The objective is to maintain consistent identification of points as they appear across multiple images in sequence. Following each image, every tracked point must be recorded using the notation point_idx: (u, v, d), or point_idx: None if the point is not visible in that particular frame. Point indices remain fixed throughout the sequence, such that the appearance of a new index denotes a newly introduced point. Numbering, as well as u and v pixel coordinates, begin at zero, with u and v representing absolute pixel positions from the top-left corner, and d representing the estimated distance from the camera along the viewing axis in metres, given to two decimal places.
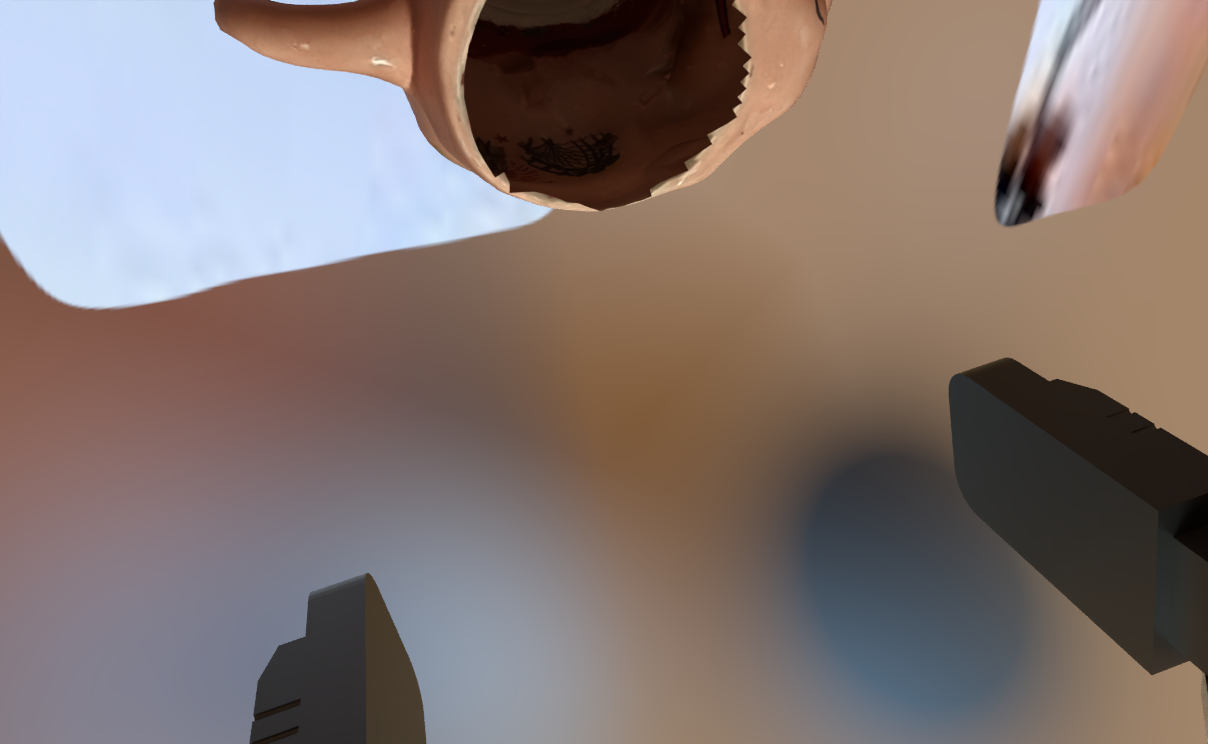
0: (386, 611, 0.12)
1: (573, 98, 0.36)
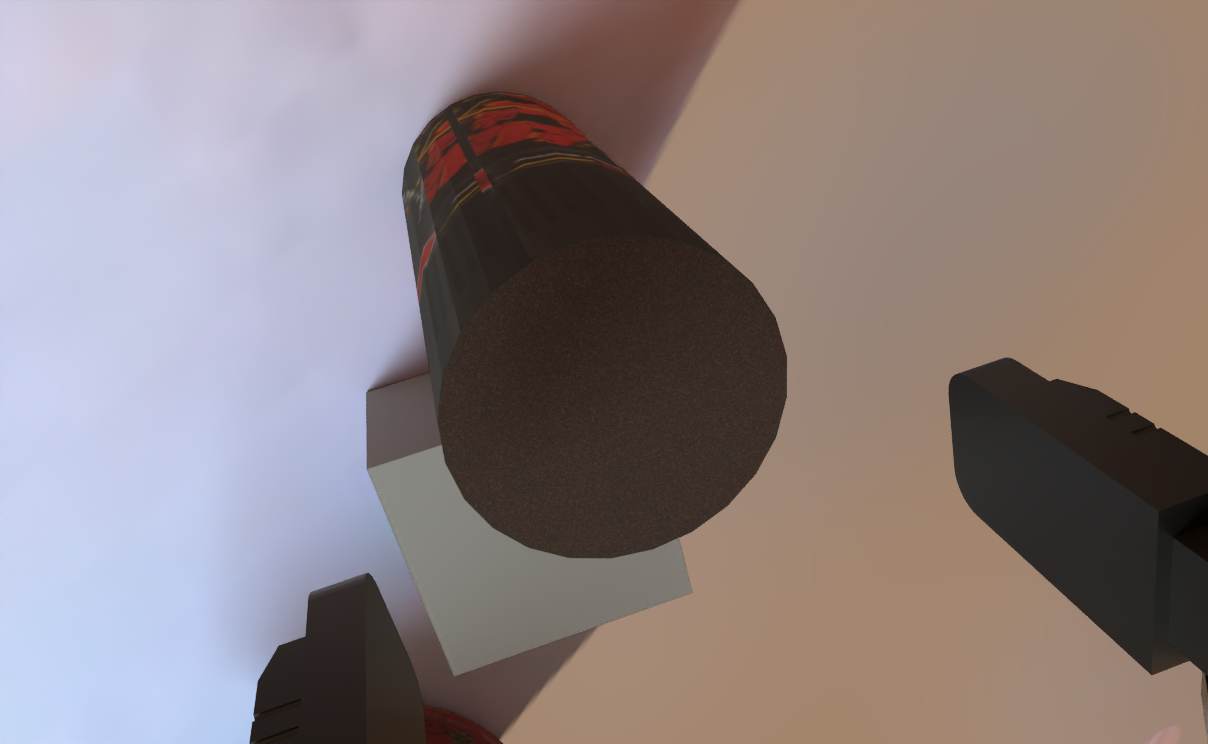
0: (386, 611, 0.12)
1: None
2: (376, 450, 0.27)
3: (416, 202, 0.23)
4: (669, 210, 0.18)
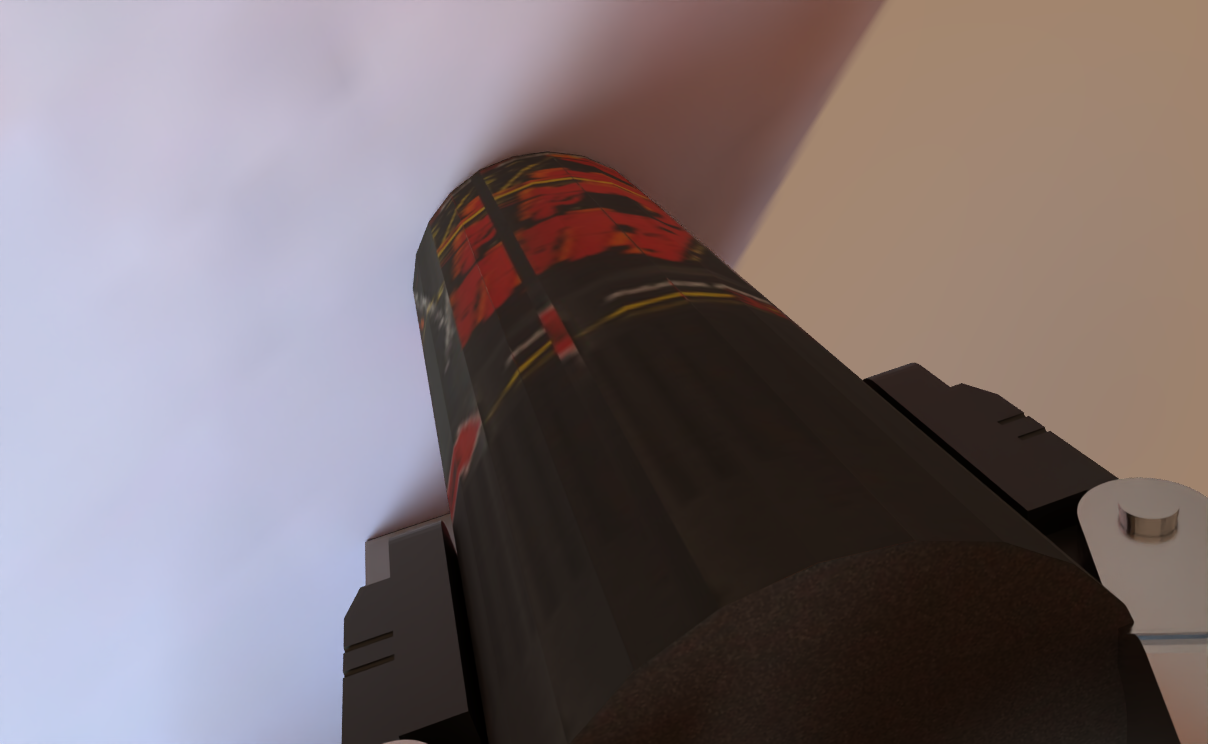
0: (457, 558, 0.12)
1: None
2: None
3: (439, 328, 0.16)
4: (874, 391, 0.11)
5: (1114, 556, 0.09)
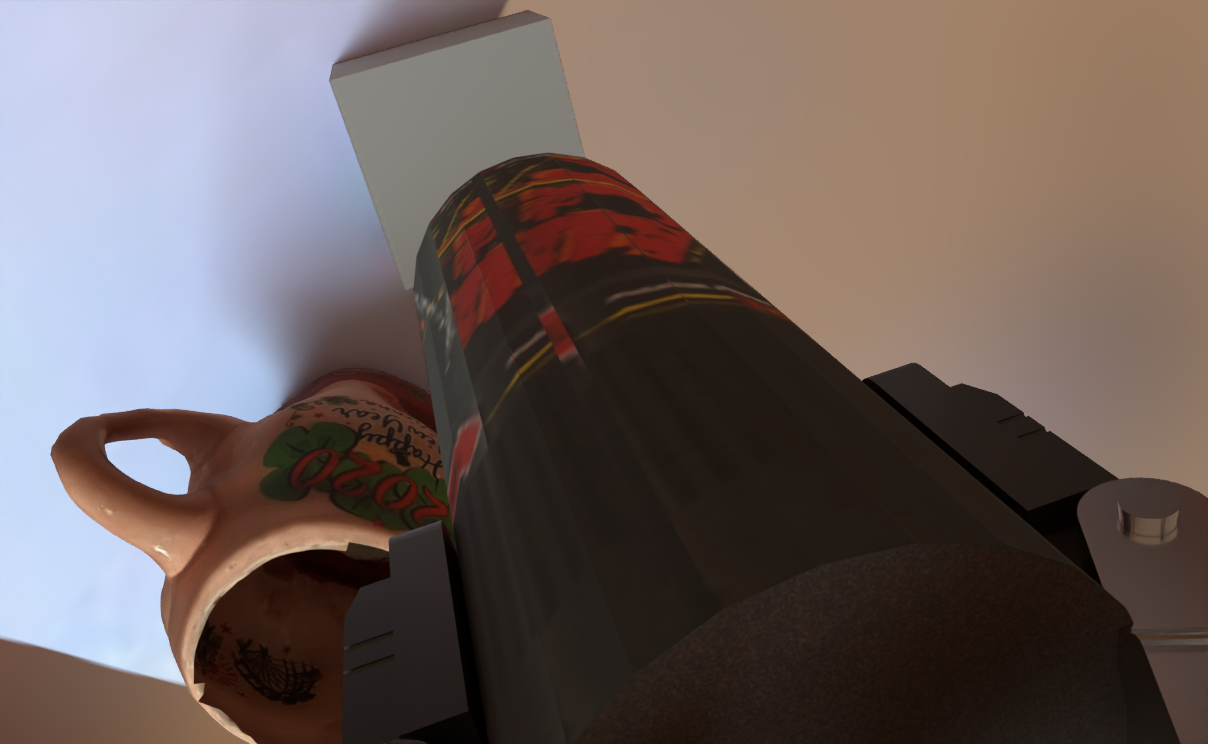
0: None
1: (306, 622, 0.40)
2: (337, 75, 0.33)
3: (439, 329, 0.16)
4: (874, 393, 0.11)
5: (1113, 556, 0.09)
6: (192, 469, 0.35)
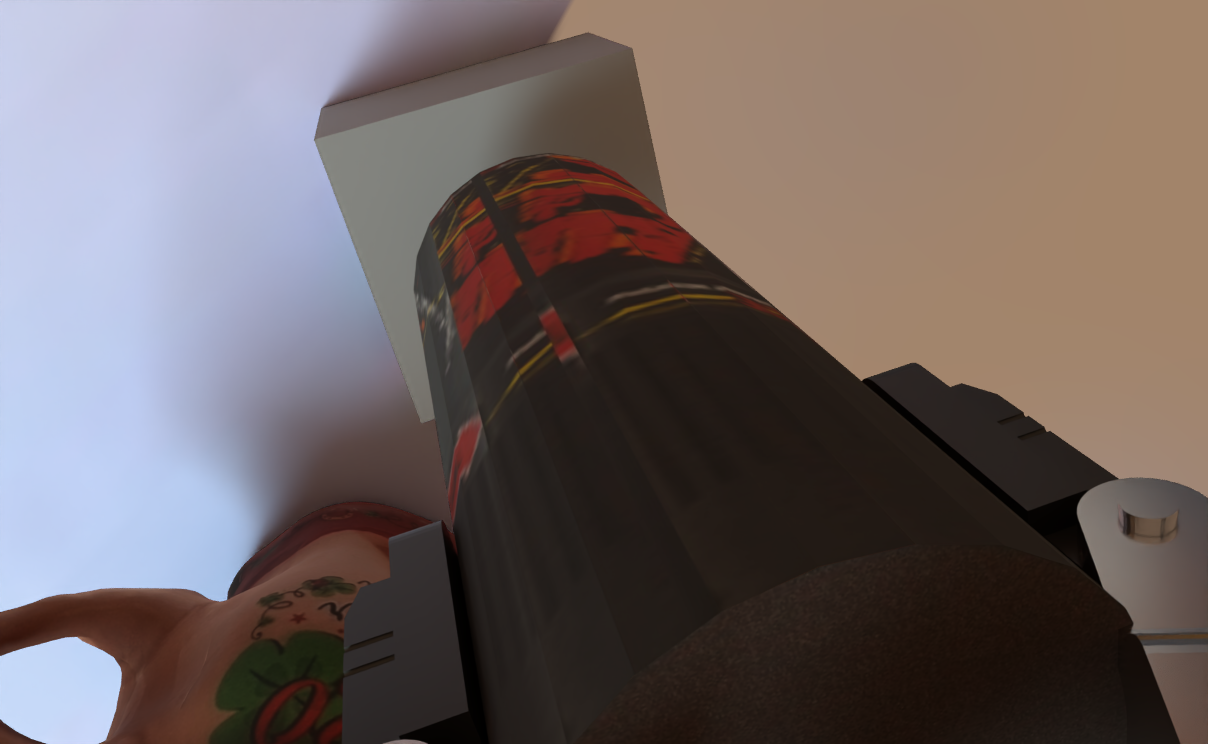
0: (457, 558, 0.12)
1: None
2: (326, 130, 0.23)
3: (440, 329, 0.16)
4: (874, 393, 0.11)
5: (1114, 556, 0.09)
6: (123, 676, 0.25)
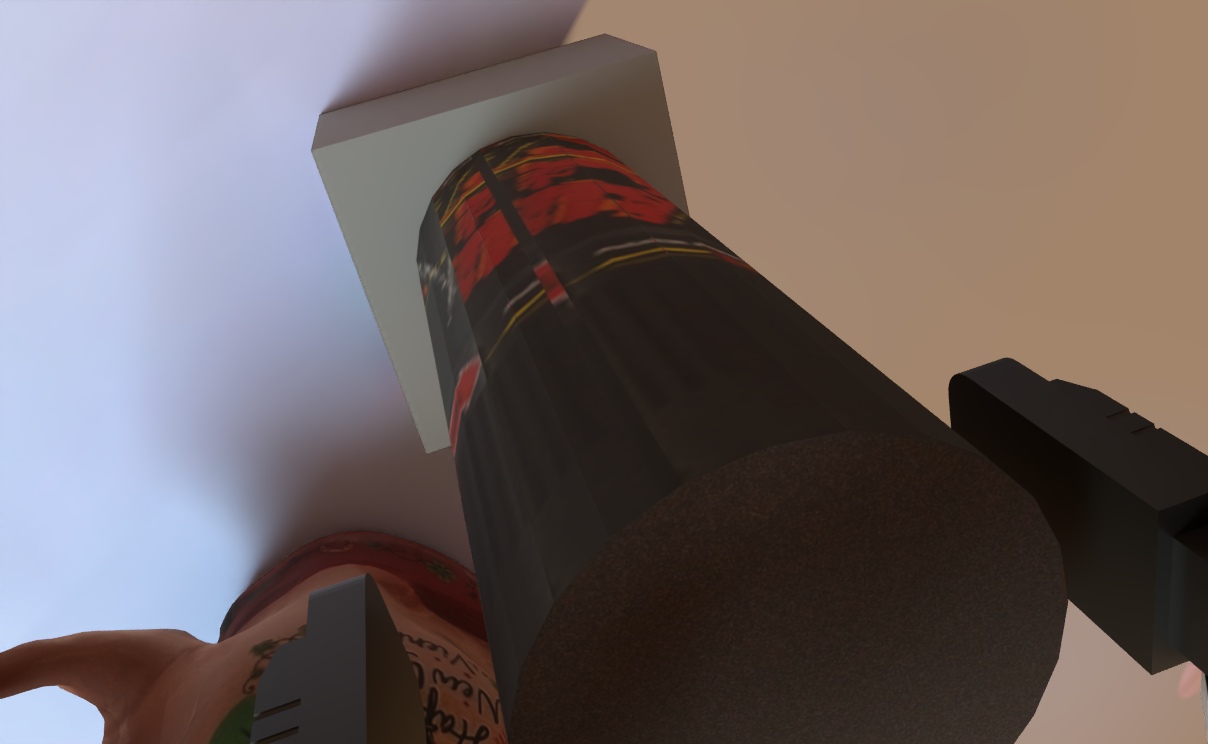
0: (386, 611, 0.12)
1: None
2: (325, 139, 0.21)
3: (442, 289, 0.17)
4: None
5: None
6: (106, 727, 0.23)
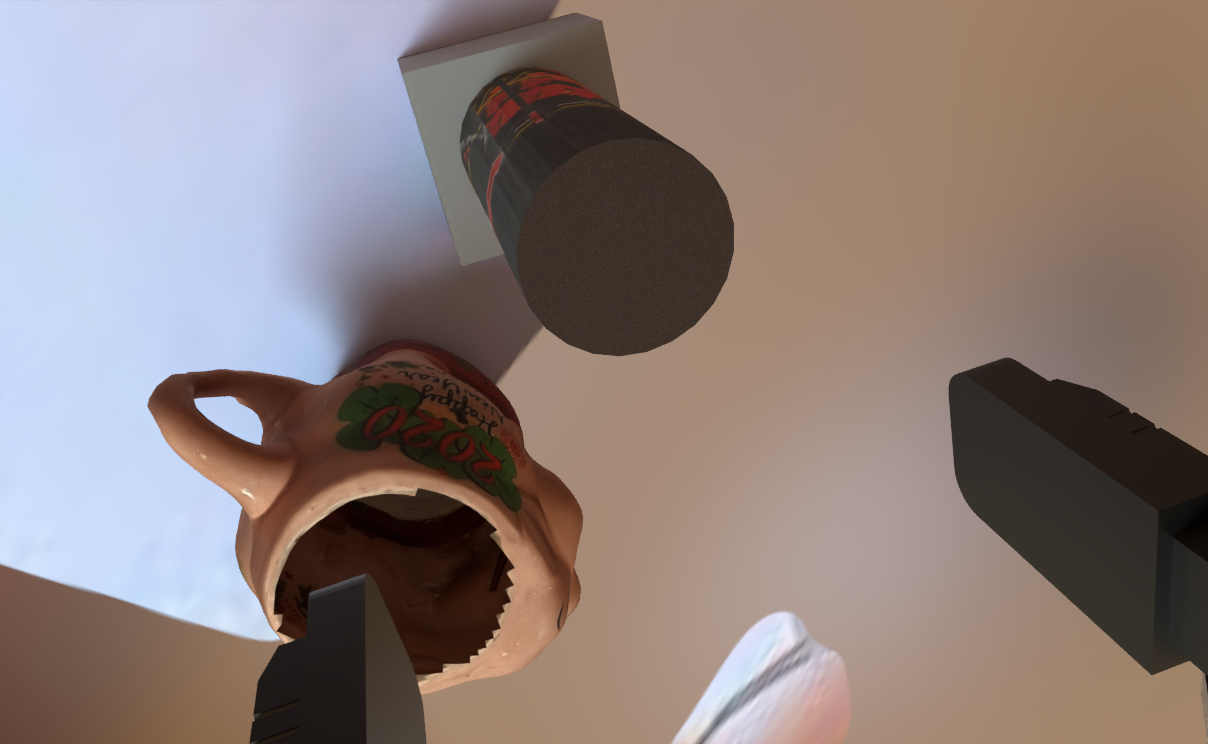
0: (386, 611, 0.12)
1: (359, 573, 0.43)
2: (408, 68, 0.37)
3: (480, 140, 0.32)
4: None
5: None
6: (265, 426, 0.39)
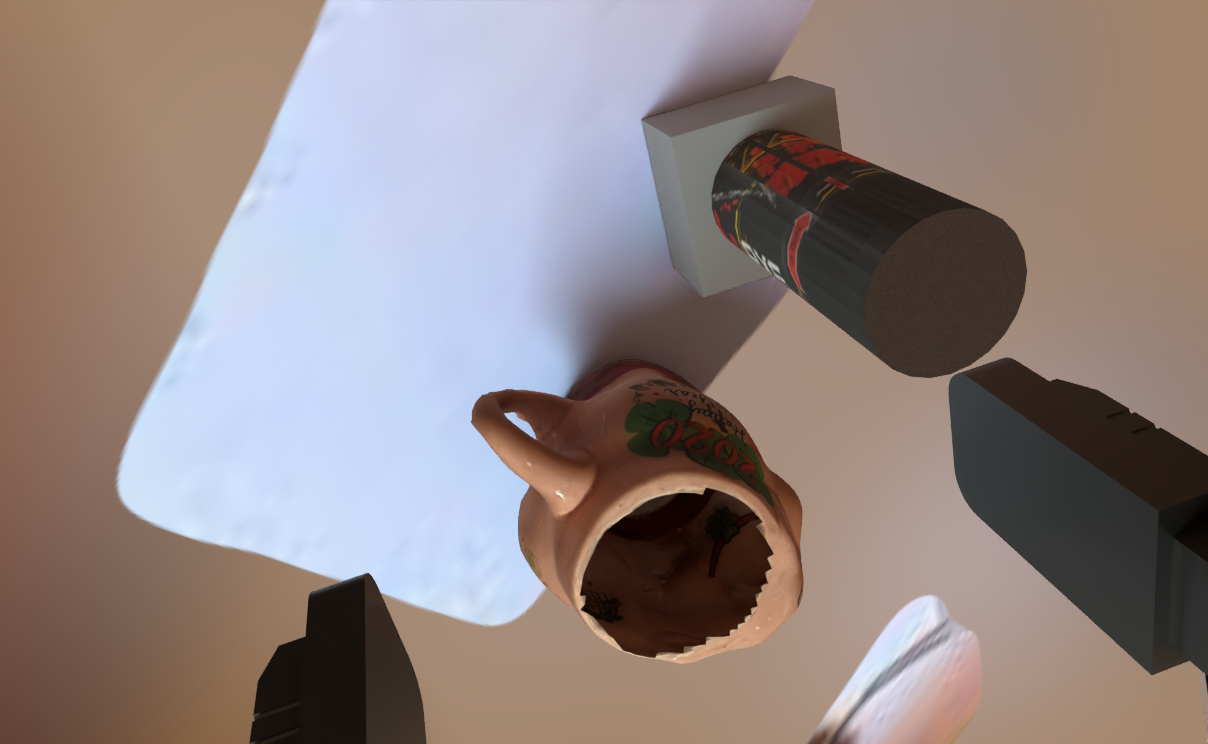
0: (386, 611, 0.12)
1: (600, 563, 0.50)
2: (670, 132, 0.43)
3: (760, 196, 0.39)
4: None
5: None
6: (541, 437, 0.45)
